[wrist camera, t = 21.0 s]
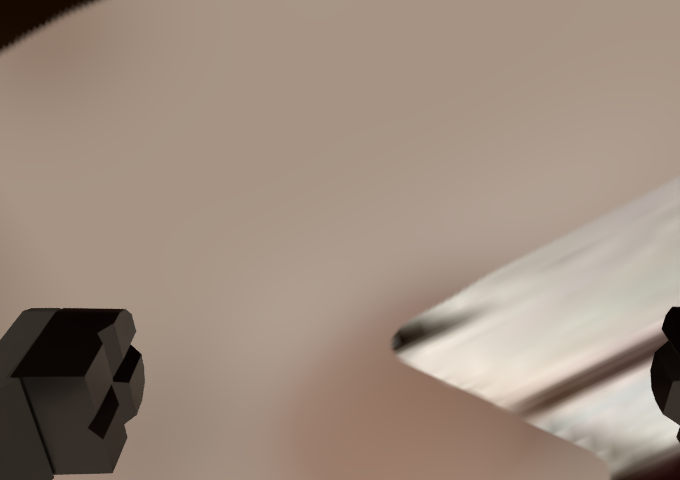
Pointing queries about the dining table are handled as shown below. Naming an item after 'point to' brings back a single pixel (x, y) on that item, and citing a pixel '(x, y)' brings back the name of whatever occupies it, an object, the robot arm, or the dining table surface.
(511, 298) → the dining table surface
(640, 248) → the dining table surface
